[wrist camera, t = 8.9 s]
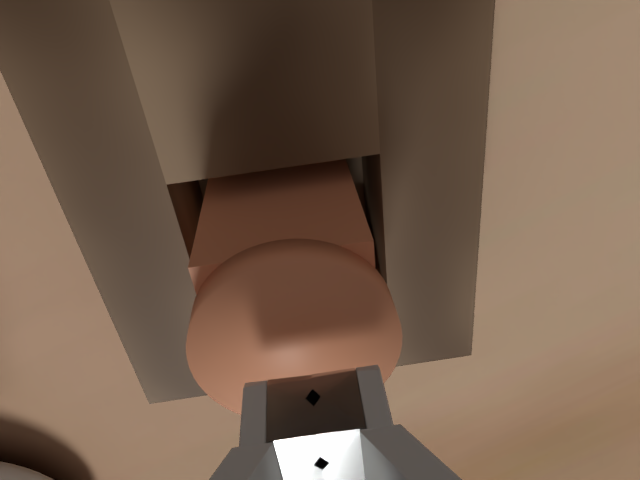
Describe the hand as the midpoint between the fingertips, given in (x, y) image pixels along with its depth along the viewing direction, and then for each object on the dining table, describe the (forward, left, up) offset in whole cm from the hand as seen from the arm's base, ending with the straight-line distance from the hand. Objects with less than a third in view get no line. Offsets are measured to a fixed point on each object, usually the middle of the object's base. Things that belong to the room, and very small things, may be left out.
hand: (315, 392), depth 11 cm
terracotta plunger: (0, 0, -8) cm, 8 cm away
